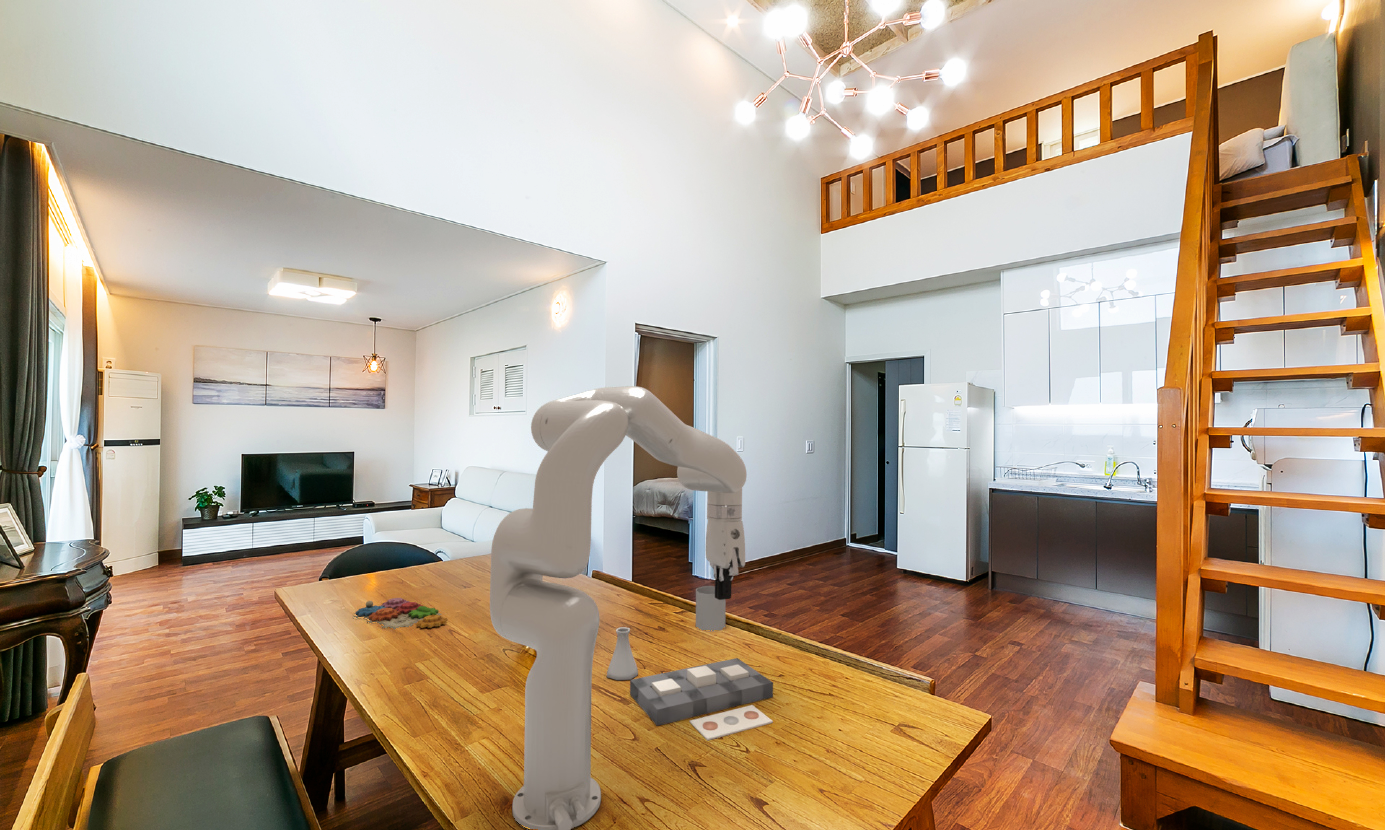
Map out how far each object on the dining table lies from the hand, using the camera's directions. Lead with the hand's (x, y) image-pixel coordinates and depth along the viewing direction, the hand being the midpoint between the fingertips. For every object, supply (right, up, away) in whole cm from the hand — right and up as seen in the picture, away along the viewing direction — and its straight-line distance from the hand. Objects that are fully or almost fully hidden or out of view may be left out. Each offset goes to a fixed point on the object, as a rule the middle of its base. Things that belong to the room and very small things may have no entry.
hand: (722, 598), depth 123 cm
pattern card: (+1, -19, -15) cm, 24 cm away
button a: (+2, -19, -1) cm, 19 cm away
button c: (-12, -18, -8) cm, 23 cm away
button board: (-5, -19, -5) cm, 20 cm away
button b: (-5, -17, -5) cm, 19 cm away
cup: (-2, -20, +38) cm, 42 cm away
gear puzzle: (-89, -20, +42) cm, 101 cm away
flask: (-22, -19, +6) cm, 30 cm away
